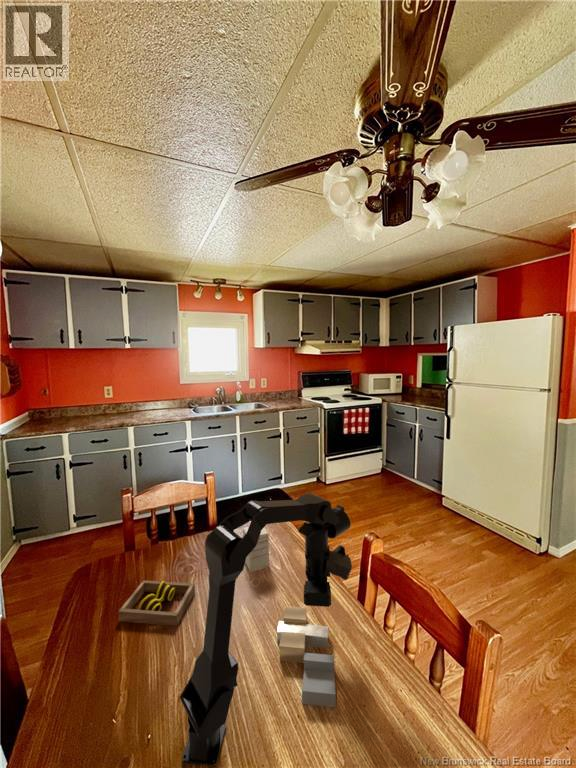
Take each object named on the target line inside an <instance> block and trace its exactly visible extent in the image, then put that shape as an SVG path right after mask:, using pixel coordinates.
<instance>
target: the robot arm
mask: <svg viewBox="0 0 576 768" xmlns="http://www.w3.org/2000/svg"><path fill="white" fill-rule="evenodd" d="M299 521H302V522H303V521H304V522H303V524H302V525H301V526H300V527H299V528H298V530H297V531H298V533H300V534H301V535H302V536H304V539H305V540H304V541H305V545H304V546H305V549H304V550H305V551H304V559H305V569H304V570H305V576H306V579H307V580H305V581H304V584H303V604H304V605H305V607H306V606H307V607H308V606H309V607H310V606H311V607H330V606H331V605H332V589H331V584H330V581H328V578H330V577H331V574H332V575H334V576H336V577H338V578H342V580H348V579H349V576H350V573H351V571H352V569H353V566H352V560H351V558H350V557H349V556H350V555H349V554H346V549H345V546H343V545H341V544H339V545H338V546H337V547H336V548H334V549H333V550H330V544H329V539H330V540H331V539H335V538H338V537H339V536H340V535H342V534H343V533H345V532H346V531H349V529H350V528H351V520H350V518H349V516H348V514H347V513H346V511H345V507H343V506H341V505H340V504H338V505H336V506H334V507H333V508H332V504H331V501H330V500H328V499H325V498H323V497H321V496H318V495H316V494H314V493H311V492H309V493H304V494H301V495H299V496H298V497H297V498H296V499H283V500H262V501H261V500H260V501H259V500H249V501H248V502H247V503H246V504H245V505H244V506H242V508H241V509H239V510H237V511H235V512H233V513H232V514H230V515H228V516H225V517H224V519H222V521H221V522H219V524H218V525H217V526H216V527H215V528H213V529H212V531H210V532H209V534H207V536H206V538H205V541H204V551H205V562H206V565H207V569H208V574H209V573H210V588H209V589H208V600H207V610H206V618H205V620H206V621H205V630H204V640H203V648H202V652H201V653H200V654H199V656H197V658H196V659H195V663H194V667H193V670H192V674H191V676H190V678H189V680H188V682H187V684H185V687H184V688H183V690H182V692H181V693H180V696H179V700H180V702H181V704H182V706H183V708H184V710H185V712H186V714H187V727H188V739H187V741H186V744H185V747H184V750H183V753H182V755H181V760H182V763H187V764H194V765H201V764H207V765H206V766H208V765H214V764H216V765H217V763H218V760H217V759H219V755H220V751H221V747H222V743H223V740H224V736H225V731H226V728H227V717H228V715H229V710H230V706H231V703H232V699H233V697H234V693H235V692H234V691H235V688H237V687H238V683H237V676H238V672H239V663H238V662H237V660H236V658H234V655H232V654H231V652H230V642H231V641H230V639H231V631H232V620H233V619H232V618H233V612H234V611H233V609H234V600H235V591H236V581H237V579H238V577H239V576H240V575H241V573H242V572H243V571H244V569H245V565H246V563H245V561H246V557H247V556H248V555H249V554H250V552H251V551H252V550H253V549H254V548H255V547H256V545H257V542H258V539H259V536H260V533H261V530H262V529H263V528H266V525H273V524H280V523H282V524H283V523H290V522H299ZM248 523H250V524H249V525H248V527H249V528H248V531H247V533H246V534H245V536H244V537H243V536H242V537H241V536H240V535H239V534H237V533H236V532H235V530H237V529H239V528H241V527H242V526H244V525H246V524H248ZM213 760H215V761H213ZM216 762H217V763H216Z"/></svg>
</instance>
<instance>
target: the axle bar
mask: <svg viewBox="0 0 576 768" xmlns="http://www.w3.org/2000/svg"><path fill="white" fill-rule="evenodd" d="M281 631H283V632H295V633H305V647H306V646H307V647H314V648H321V649H322V648H323V649H329V626H327V625H326V626H325V625H319V624H317V625H316V624H308V623H307V624H301V623H293V622H284V621H283V620H278V625H277V631H276V643H280V638H281Z"/></svg>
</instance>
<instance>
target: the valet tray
mask: <svg viewBox="0 0 576 768" xmlns="http://www.w3.org/2000/svg"><path fill="white" fill-rule="evenodd" d="M162 581H163V580H161V581H159V580H145V579H144V580H142V581H141V583H140V584H139V585H138V586H137V588H136V589H135V590H134V591H133V592H132V594H131V595H130V597H129V598H128V599H127V600H126V601H125V603H123V605H122V606H121V608H119V610H118V621H119V622H126V623H127V622H128V623H138V624H149V625H150V624H151V625H164V626H173V627H177V626H178V624H179V623H180V621H181V620H182V617H183V615H184V614H185V612H186V610H187V608H188V606H189V604H190V602H191V600H192V599H193V597H194V595H195V592H196V589H195V583H192V582H191V583H188V582H178V581H177V582H176V581H175V582H174V581H164V582H165V584H167V585H170V586H171V587H172V588H175V593H174V595H184V596H183V597H182V599H181V600H180V602H179V604H178V606H177V607H176V610H174V611H173V612H172V611H161V610H160V611H149V610H139V609H137V608H136V609H135V608H134V607H135V605H136V604H137V603H138V602H139V600H140V599H141V598H142V596H143V595H144V594H145V592H146V593H156V594H157V590H158V588H159V585H160V584H161V582H162Z"/></svg>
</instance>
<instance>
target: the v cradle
mask: <svg viewBox="0 0 576 768" xmlns="http://www.w3.org/2000/svg"><path fill="white" fill-rule="evenodd" d="M335 678H336V677H335V655H333V654H323V653H321V654H320V653H312V652H305V653H304V663H303V675H302V684H301V686H302V687H301V704H302V705H309V706H310V705H311V706H318V707H327V708H328V707H329V708H336V704H337V703H336V699H337V698H336V682H335V681H336V680H335Z"/></svg>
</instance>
